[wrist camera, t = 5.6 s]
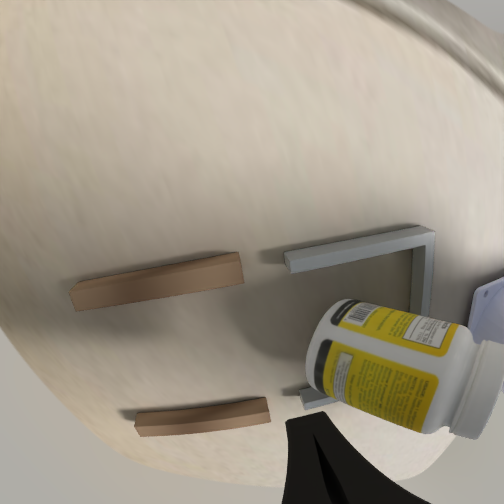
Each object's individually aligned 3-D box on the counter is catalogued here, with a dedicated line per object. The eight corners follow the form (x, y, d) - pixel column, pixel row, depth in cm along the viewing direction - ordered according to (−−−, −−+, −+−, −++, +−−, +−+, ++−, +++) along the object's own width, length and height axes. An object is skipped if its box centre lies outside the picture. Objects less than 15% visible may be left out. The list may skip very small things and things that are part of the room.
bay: (421, 225, 14) (434, 231, 13) (409, 362, 17) (418, 372, 16) (283, 252, 14) (289, 260, 13) (299, 396, 17) (304, 410, 16)
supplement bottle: (326, 397, 15) (467, 451, 9) (286, 373, 12) (479, 449, 6) (365, 321, 16) (502, 357, 10) (338, 277, 13) (521, 317, 7)
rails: (238, 252, 14) (240, 260, 12) (267, 408, 17) (271, 422, 16) (78, 281, 13) (68, 292, 12) (143, 423, 16) (140, 436, 15)
